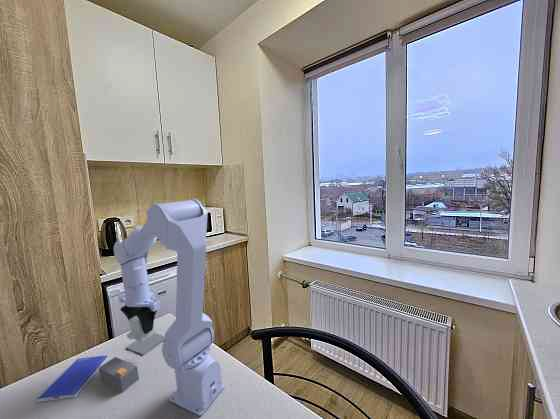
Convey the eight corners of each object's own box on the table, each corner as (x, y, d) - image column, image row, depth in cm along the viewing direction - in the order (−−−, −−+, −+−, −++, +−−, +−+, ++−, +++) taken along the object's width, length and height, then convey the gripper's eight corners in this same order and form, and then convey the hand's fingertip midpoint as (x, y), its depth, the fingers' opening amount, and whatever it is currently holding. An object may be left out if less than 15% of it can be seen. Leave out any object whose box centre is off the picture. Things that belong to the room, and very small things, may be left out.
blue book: (76, 358, 68) (36, 398, 56) (107, 354, 69) (74, 393, 56) (77, 363, 68) (38, 404, 56) (108, 360, 69) (75, 399, 56)
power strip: (139, 378, 60) (137, 363, 60) (122, 392, 57) (120, 376, 56) (117, 368, 64) (115, 354, 64) (100, 380, 61) (98, 365, 60)
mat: (167, 338, 76) (167, 337, 76) (143, 355, 69) (143, 354, 69) (150, 332, 79) (150, 331, 79) (125, 348, 72) (125, 347, 72)
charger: (155, 332, 68) (152, 314, 67) (135, 346, 63) (132, 326, 62) (146, 329, 70) (143, 311, 69) (125, 342, 64) (122, 323, 64)
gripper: (167, 280, 65) (173, 326, 67) (133, 274, 72) (139, 316, 73) (143, 292, 59) (150, 343, 61) (108, 284, 65) (115, 330, 67)
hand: (143, 329), depth 67 cm, fingers closed on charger, 4 cm apart
